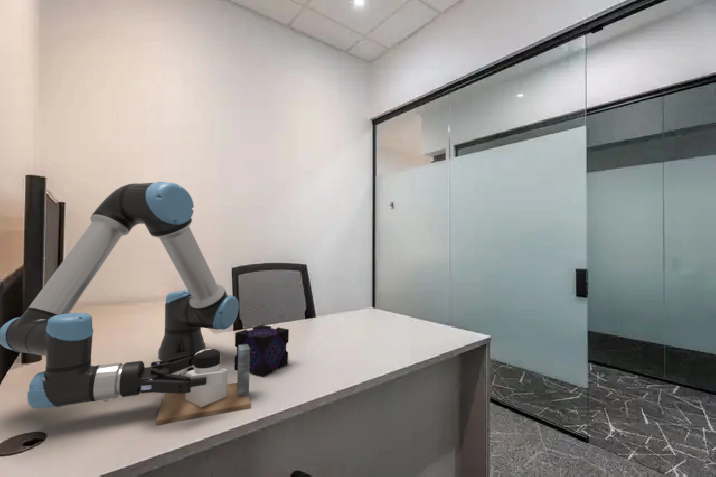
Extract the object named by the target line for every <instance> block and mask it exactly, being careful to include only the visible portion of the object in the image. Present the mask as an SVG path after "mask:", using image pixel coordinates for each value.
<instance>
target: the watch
mask: <svg viewBox="0 0 716 477" xmlns="http://www.w3.org/2000/svg"><path fill="white" fill-rule="evenodd" d="M191 370H194V366H191V367H188V368H185V369H183V370H180V371H179V372H180V373H179V374H178V375H180V376H186V372H188V371H191Z"/></svg>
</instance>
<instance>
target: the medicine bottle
mask: <svg viewBox="0 0 716 477" xmlns="http://www.w3.org/2000/svg"><path fill="white" fill-rule="evenodd" d="M220 353H221V351H220V350H218V349H214V348H205V350H201V351H199V352H197V353H196V354H195V355H194V365H193V367H194V370H191V371H188V372H186V375H185V376H186V377H191V379H192V375H195V374H203V373H210V372H218V371H222V383H221V384H215V385H208V386H201V387H194V388H191V392H190V393H185V400H187V401H189V402H191V403H193V404H195V405H197V406H199V407H201V408H202V407H204V406H207V405H209V404H211V403H213V402H216V401H218V400H220V399H223V398H225V397H226V396H227V384H228V369H227V368H224V367H221V362H220Z"/></svg>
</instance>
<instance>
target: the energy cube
mask: <svg viewBox="0 0 716 477" xmlns="http://www.w3.org/2000/svg"><path fill="white" fill-rule="evenodd" d="M234 333H235V334H234V335H235V336H234V347H236V355H234V361H233V362H234V364H233V366H234V367H233V368H234V371H237V372H238V345H244V344H248V345H249V348H250V367H249V373H251V374H252V376H256V377H260V378H265V377H267V376H269V375H270V374H272V373H273V371H274V370H276V369H277V370H281V369H282V368H284V367H287V366H288V365H289V351H287V344H288V343H289V338H290V337H289V336H290V334H289V333H290V329H289V328H282V327H277V328H272V326H271V325H270V326H269V325H264V324H261V325H256V326H253V327H252V329H249V330H248V329H244V330H240V331H238V332H234Z"/></svg>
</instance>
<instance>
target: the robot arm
mask: <svg viewBox="0 0 716 477" xmlns="http://www.w3.org/2000/svg"><path fill="white" fill-rule="evenodd" d="M194 206H195V205H194V200H193V198H192V196H191V194H190V193H189V191H188V190H186V188H185V187H183V186H181V185H179V184H177V183H174V182H167V181H166V182H165V181H157V182H145V183H144V182H143V183H127V184H125V185H122V186H120V187H118V188H116V189H115V190H114V191H112V192H111V193H110V194H109V195H108V196H107V197H105V199H104V200H103V201H101V203H100V204H99V206H97V207H96V209H94V211H93V213H92V214H91V215H90V218H89V219H90V222H91V223H90V225H88V227H87V228H86V229H85V231H84V233H83V234H82V235H80V238H79V239H78V241H77V242H76V243H75V244H74V246H73V247H72V249H71V250H70V251H69V253H68V254H67V255H66V256H65V258H64V259H63V260H62V262H61V263H60V264H59V265H58V267H57V269H56V270H55V271H54V272H53V274H52V275H51V277H50V278H49V279H48V280H47V282H46V283H45V285H44V286H43V287H42V288H41V290H40V291H39V293H38V294H37V295H36V297H35V298H34V299H33V300H32V302H31V304H29V306H28V308H27V309H26V310H24V311H25V312H23V314H22V315H21V316H20V317H14V318H12V319H10V320H8V321H6V322H5V323H4V324H3V325H2V326H1V327H0V345H1V346H2V347H4V348H5V349H7V350H11V351H14V352H16V353H26V354H27V353H28V354H33V355H37V356H42V357H45V370H44V371H40V372H38V373H36V374H35V375H34V376H33V377H32V379H31V381H30V382H29V385H28V386H29V387H28V388H29V389H28V391H27V403H28V405H29V406H30V407H31V408H32V409H37V410H38V409H40V410H41V409H49V408H61V407H64V406H72V405H77V404H82V403H90V402H91V403H92V402H96V401H103V402H108V401H109V400H112V399H116V398H119V397H120V396H121V398H127V397H132V396H133V397H134V396H138V395H141V394H151V393H153V394H165V393H175V394H185V393H190V392H191V388H194V387H201V386H208V385H215V384H221V383H222V371H218V372H210V373H203V374H195V375H192V379H191V377H186V375H185V376H180V375H179V374H174V373H178V372H181V371H182V370H183V369H185V368H190V367H194V355H195V354H196V353H197V352H199V351H201V350H205V349H207V348H206V343H205V341H204V336H203V334H202V328H204V329H210V330H215V331H216V330H227V329H229V328H231V326H232V325H233V324H234V323H235V322H236V320H237V318H238V315H239V310H240V304H239V300H238V298H237V297H236V296H235V295H228V293H227V291H226V289H225V287H224V286H223V285H221V284H219V283H218V284H217V281H216V279H215V277H214V275H213V273H212V271H211V269H210V266H209V265H208V263H207V260H206V259H205V257H204V254H203V252H202V250H201V248H200V246H199V244H198V242H197V240H196V238H195V237H196V236H194V234H193V231H192V230H191V228H190V226H191V225H192V222H193V218H192V217H193V216H194V215H193V214H194V210H193V208H194ZM139 224H140V225H143V224H144V225H145V227H146V229H147V231H148V232H149V234H150V236H151V237H154V238H158V239H159V240H160V242H161V244H162V245H163V247H164V249H165V251H166V253H167V255H168V257H169V258H170V261H171V262H172V264H173V265H174V268H175V269H176V271H177V273H178V274H179V276H180V278H181V280H182V281H183V284H184V285H185V287H186V290H185V289H184V290H177V291H172V292H169V293H168V294H167V295H166V297H165V304H164V335H163V338H162V340H161V343H160V347H159V348H158V351H157V354H158V355H157V358H158V359H159V360H156V361H152V362H150V366H148V367H145V363H144V361H143V360H137V361H135V360H134V361H126V362H125V363H124V364H123V363H122V362H115V363H108V364H99V365H92V348H93V337H94V336H93V334H94V328H93V316H92V315H91V314H90V313H88V312H87V313H86V312H72V310H73V308H74V307H75V305H76V304H77V303H78V301H79V300H80V298H81V297H82V295H83V294H84V292H85V291H86V290H87V288H88V286H89V285H90V283H91V282H92V281H93V279H94V277H95V276H96V275H97V273H98V272H99V270H100V269H101V267H102V266H103V265H104V262H105V261H106V260H107V258H108V256H110V254H111V253H112V251H113V250H114V248H115V246H116V245H117V244H118V242H119V240H120V239H121V238H122V236H127V235H128V234H129V233H130V232H131V230H132V229H133V228H134V227H136V226H137V225H139ZM221 356H222V354H221V352H220V363H221Z"/></svg>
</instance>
